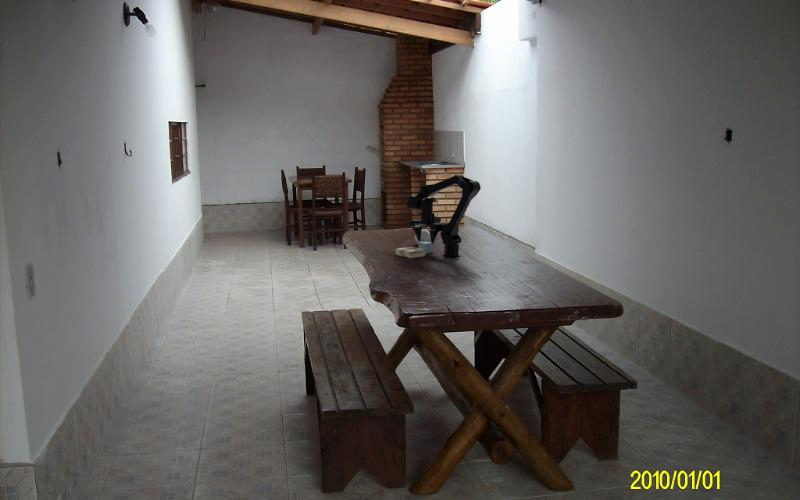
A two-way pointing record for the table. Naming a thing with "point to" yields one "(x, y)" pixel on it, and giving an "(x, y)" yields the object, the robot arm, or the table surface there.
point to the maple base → (410, 252)
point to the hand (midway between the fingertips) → (425, 242)
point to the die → (424, 236)
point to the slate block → (426, 246)
